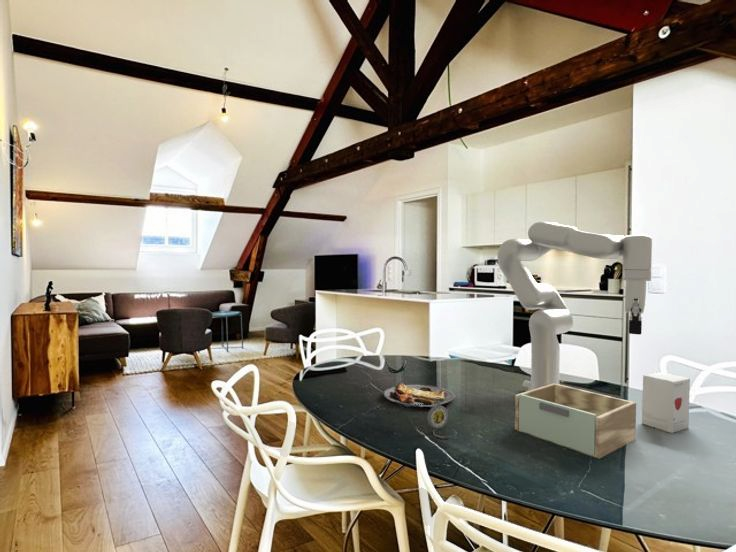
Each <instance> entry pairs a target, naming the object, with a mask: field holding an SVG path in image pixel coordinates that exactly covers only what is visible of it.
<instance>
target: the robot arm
mask: <svg viewBox="0 0 736 552" xmlns="http://www.w3.org/2000/svg"><path fill="white" fill-rule="evenodd" d="M527 236H528V238H527V239H526V238H511V239H508V240H506V241H503V242H502V243H501V245H500V246H499V249H498V251H497V263H498V266H499V269H500V270H501V272H502V274H503V276H505V278H506V279H507V281H508V283H509V285H510V286H511V289H512V291H513V293H514V294H515V296H516V297H517V300H518V301H519V303H520V305H521V306H522V307H523V308H524V309H526V310H537V311H535V312H533V314H531V315H530V318H529V321H528V327H529V328H528V329H529V333H530V343H531V346H530V348H531V349H530V351H531V352H530V353H531V354H530V355H531V359H530V360H531V367H530V370H531V371H530V380H523V381H522V387H525V388H528V389H527V391H530V390H533V389H537V388H540V387H543V386H547V385H550V384H553V383H555V384H559V385H560V372H561V371H560V365H561V364H560V360H561V359H560V356H561V353H560V352H561V349H560V342H559V340H558V336H557V335H560V334H565V333H568V332H569V331H571V329H572V327H573V325H574V319H573V314H572V313H571V311H570V309H569V308H568V306H567V305H566V303H565V301H564V299H562V297H561V295H560V294H559V292H558V290H557V289H556V288H555V287H554V286H552V285H550V284H548V283H538V282H537V281H536V279H534V278H535V277H533V275H532V273H531V271H530V270H529V269H528V268H527V267H526V266H525V265H524V264H523V263H522V262H533V261H535V260H538V259H540V258H541V257H543V256H544V255H546V254H548V253H549V252H551V251H552V250H553V249H557V250H559V251H564V252H568V253H573V254H575V255H578V256H584V257H588V258H593V259H598V260H606V259H607V260H608V259H609V260H618V259H622V278H621V279H622V281H625V294H624V295H625V298H624V313H625V314H628V312H630V314H629V320H628V333H629V334H630V335H642V330H643V329H642V323H643V320H642V318H643V317H642V314H644V310H645V306H646V298H647V297H646V295H647V294H646V293H647V282H651V281H652V261H653V260H652V254H653V253H652V252H653V251H652V249H653V238H652V237H651V236H650V235H648V234H629V235H625V236H624V235H616V234H615V235H613V234H602V233H601V234H599V233H594V232H589V231H588V232H587V231H582V230H578V228H577V227H576V226H572V225H571V226H570V225H564V224H559V223H558V222H550V221H538V222H534V223H533V224H532V225H531V226H530V227H528V230H527Z"/></svg>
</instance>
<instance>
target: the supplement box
mask: <svg viewBox="0 0 736 552" xmlns="http://www.w3.org/2000/svg"><path fill="white" fill-rule="evenodd" d="M690 385H691V379H690V377H689V378H688V377H685V376H681V375H680V376H679V375H675V374H671V373H666V372H661V371H659V372H654V373H653V372H652V373H649V374H645V375H642V398H641V399H642V402H641V403H642V404H641V411H642V412H641V424H642V425H645V426H649V427H651V428H654V427H655V429H657V430H661V431H663V432H668V433H670V434H673V433H676V432H681V431H683V430H687V429H689V425H690V424H689V419H690V417H689V416H690V387H691V386H690Z"/></svg>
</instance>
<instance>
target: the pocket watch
mask: <svg viewBox="0 0 736 552" xmlns="http://www.w3.org/2000/svg"><path fill="white" fill-rule="evenodd" d="M436 398H440V397H436ZM436 398H435V399H436ZM435 399H434V402H435ZM440 399H441V398H440ZM441 402H442V399H441V401H439V400H437V402H435V403H437V406H434V407H431V408H430V409H429V411H428V414H427V422H428V425H429V426H430V427H431V428H433V431H432V434H433V436H434V437H436V438H438V439H442V440H449V437H452V435H450V436H449V435H448V437H447V436H443V435H441V434H438V433H436V432H435V431H437V430H440V429H443V428H444V427H445V425H447V422H448V419H449V411H448V410H447V408H446V407H444V406H443V405H441V404H439V403H441ZM436 421H437V422H436ZM453 431H454V432H455V435H453V437H454V436H456V435H457V434H458V433H457V431H456V430H455V429H453Z"/></svg>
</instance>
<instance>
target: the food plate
mask: <svg viewBox="0 0 736 552" xmlns="http://www.w3.org/2000/svg"><path fill="white" fill-rule="evenodd" d="M382 393H383V397H384V399H386V400H389V401H390V402H395V403H397V404H400V405H402V406H403V407H406V408H407V407H414V408H417V407H420V408H423V407H424V408H425V407H426V408H427V407H429V408H433V407H434V406H437V403H435V402H437V400H441V399H442V401H441V402H440V403H439V405H444V404H447V403H450V402H451V401H453V400H454V399H455V398H456V395H455V394H454V392H453V391H451V390H449V389H446V388H443V387H440V386H436V385H427V384H404V383H403V382H399V383H398V384H397V386H391V387H389V388H386V389H385V390H384V391H383V392H382ZM436 397H440V398H441V399H440V398H436ZM435 398H436V399H435ZM434 399H435V402H434ZM424 403H426V404H424ZM415 404H416V405H415ZM418 404H419V405H418ZM420 404H421V405H420ZM430 404H431V405H430Z"/></svg>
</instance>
